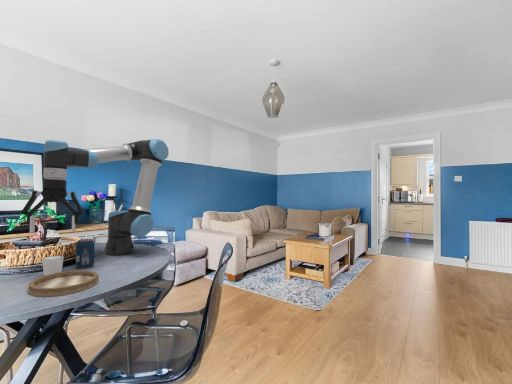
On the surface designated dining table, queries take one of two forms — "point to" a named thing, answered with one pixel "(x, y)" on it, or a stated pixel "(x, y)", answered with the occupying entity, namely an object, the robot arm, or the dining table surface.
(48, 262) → the shot glass
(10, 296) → the dining table surface
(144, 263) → the dining table surface
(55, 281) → the round tray
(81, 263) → the dark blue box
